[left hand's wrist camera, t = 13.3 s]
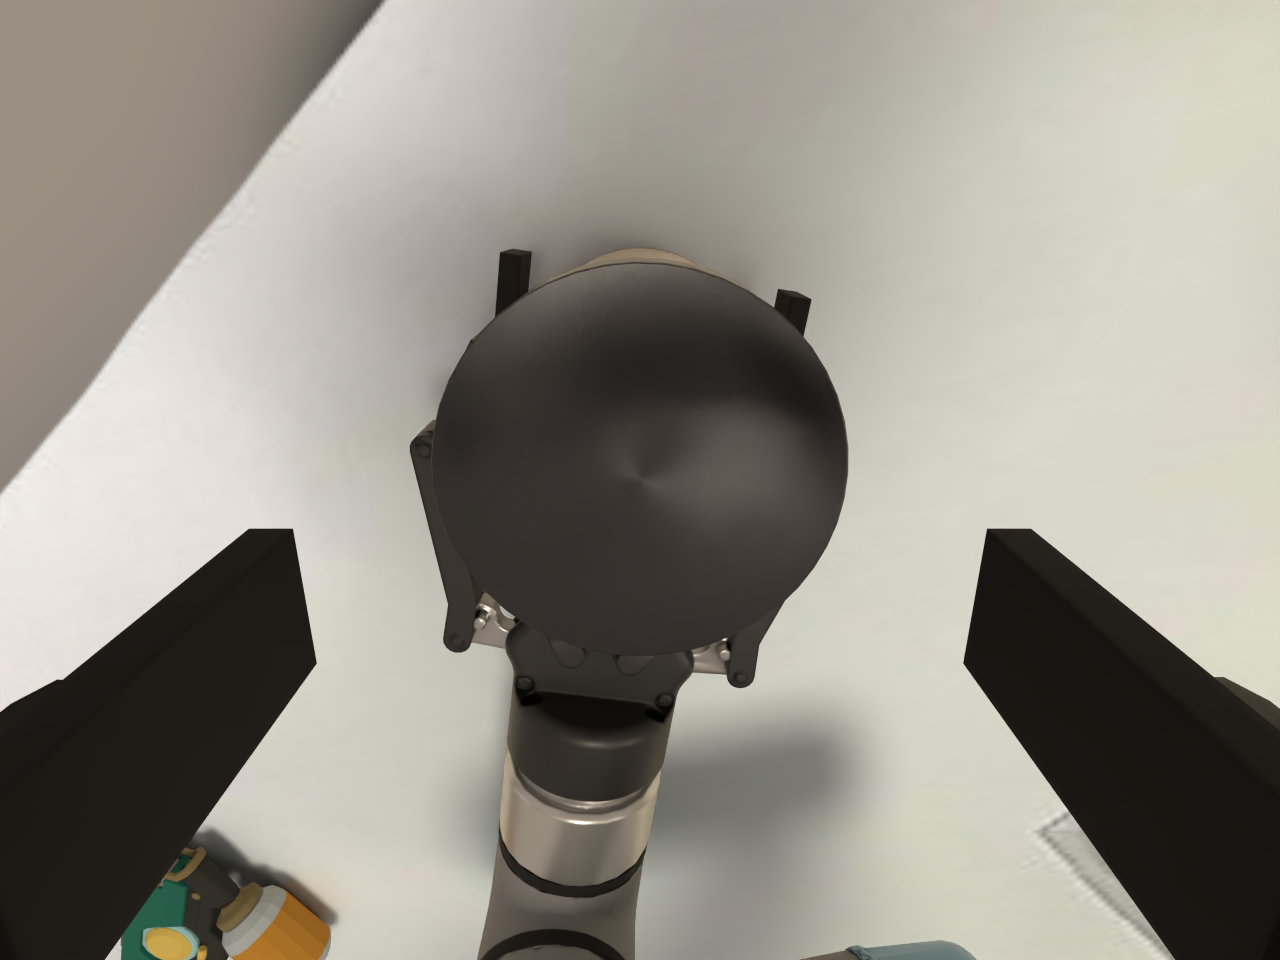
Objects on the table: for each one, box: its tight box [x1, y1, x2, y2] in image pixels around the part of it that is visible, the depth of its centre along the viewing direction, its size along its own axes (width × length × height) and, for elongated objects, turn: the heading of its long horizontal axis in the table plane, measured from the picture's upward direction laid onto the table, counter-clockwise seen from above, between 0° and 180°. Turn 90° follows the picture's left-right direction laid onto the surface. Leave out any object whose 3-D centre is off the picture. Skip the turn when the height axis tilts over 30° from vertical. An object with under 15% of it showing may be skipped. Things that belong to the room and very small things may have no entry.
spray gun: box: [121, 847, 331, 960], centre depth 46 cm, size 4×17×15 cm
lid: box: [431, 257, 848, 656], centre depth 20 cm, size 11×11×2 cm
